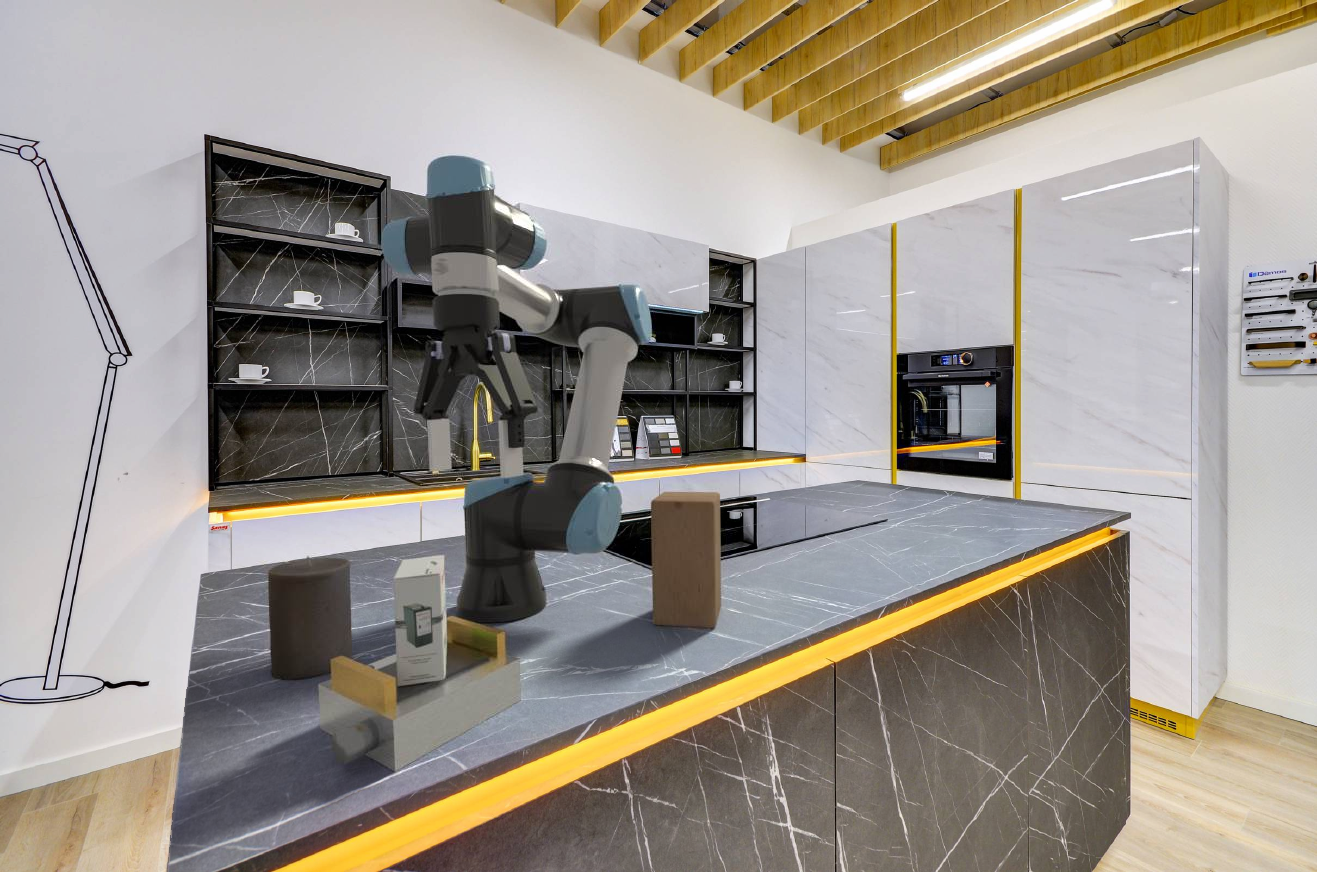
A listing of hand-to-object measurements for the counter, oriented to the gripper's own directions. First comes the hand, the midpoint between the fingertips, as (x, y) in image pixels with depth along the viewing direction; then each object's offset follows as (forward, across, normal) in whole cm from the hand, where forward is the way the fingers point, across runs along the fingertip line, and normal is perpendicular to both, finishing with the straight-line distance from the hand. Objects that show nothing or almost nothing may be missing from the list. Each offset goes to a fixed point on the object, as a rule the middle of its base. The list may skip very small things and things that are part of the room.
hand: (474, 473), depth 70 cm
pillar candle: (+27, -25, -9) cm, 38 cm away
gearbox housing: (+26, 0, -10) cm, 28 cm away
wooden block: (+28, +9, +34) cm, 45 cm away
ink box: (+21, 0, -8) cm, 23 cm away
